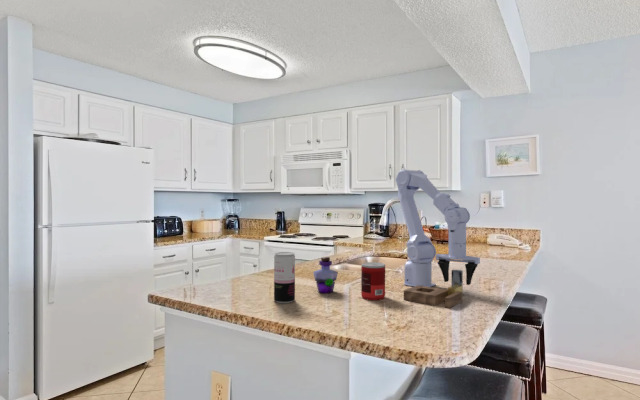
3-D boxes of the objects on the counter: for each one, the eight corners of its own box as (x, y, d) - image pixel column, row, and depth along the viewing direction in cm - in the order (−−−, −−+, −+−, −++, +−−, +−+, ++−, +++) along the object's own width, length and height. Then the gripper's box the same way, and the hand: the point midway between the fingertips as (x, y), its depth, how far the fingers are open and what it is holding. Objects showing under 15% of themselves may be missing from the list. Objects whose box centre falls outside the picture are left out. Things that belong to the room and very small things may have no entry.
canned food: (387, 296, 131) (387, 263, 131) (381, 301, 124) (381, 266, 124) (365, 293, 134) (365, 261, 134) (358, 299, 127) (358, 265, 127)
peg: (449, 294, 134) (449, 270, 134) (453, 292, 137) (453, 269, 137) (460, 295, 132) (460, 271, 132) (464, 293, 134) (464, 270, 134)
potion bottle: (324, 295, 131) (324, 259, 131) (308, 291, 137) (308, 257, 137) (343, 291, 137) (343, 257, 137) (326, 287, 143) (326, 254, 143)
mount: (403, 299, 126) (403, 290, 126) (417, 294, 134) (418, 285, 134) (449, 308, 117) (449, 298, 117) (461, 301, 124) (461, 292, 124)
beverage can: (285, 297, 129) (286, 251, 129) (299, 300, 125) (299, 253, 124) (269, 300, 125) (270, 253, 125) (282, 304, 120) (283, 255, 120)
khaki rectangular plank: (447, 300, 126) (447, 287, 126) (455, 296, 131) (455, 284, 131) (455, 301, 125) (455, 288, 125) (462, 297, 129) (462, 285, 129)
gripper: (432, 242, 136) (432, 281, 136) (474, 245, 126) (474, 287, 126) (440, 240, 141) (440, 278, 141) (482, 243, 132) (482, 284, 132)
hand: (457, 282), depth 134 cm, fingers open, 7 cm apart
